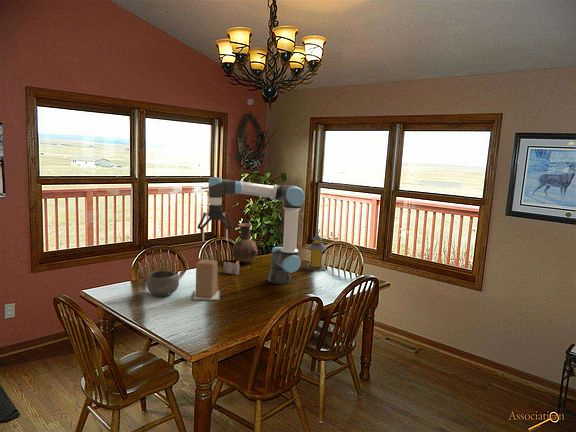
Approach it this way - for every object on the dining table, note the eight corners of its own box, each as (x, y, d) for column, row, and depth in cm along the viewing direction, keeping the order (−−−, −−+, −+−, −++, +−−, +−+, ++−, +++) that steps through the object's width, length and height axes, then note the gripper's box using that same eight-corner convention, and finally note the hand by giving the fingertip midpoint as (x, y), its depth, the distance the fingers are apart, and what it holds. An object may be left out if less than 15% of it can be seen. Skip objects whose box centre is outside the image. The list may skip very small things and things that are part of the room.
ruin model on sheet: (239, 274, 295) (239, 261, 293) (237, 275, 292) (237, 261, 290) (225, 272, 299) (225, 258, 298) (223, 273, 296) (223, 259, 295)
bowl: (184, 292, 251) (184, 271, 249) (166, 301, 234) (166, 279, 232) (159, 288, 256) (159, 268, 255) (139, 297, 239) (139, 275, 238)
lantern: (307, 265, 327) (309, 227, 322) (325, 266, 325) (327, 228, 320) (305, 269, 313) (307, 230, 308) (324, 271, 311) (327, 231, 307)
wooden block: (211, 298, 240) (212, 264, 237) (195, 296, 242) (195, 262, 239) (217, 293, 250) (218, 260, 247) (201, 291, 252) (202, 258, 249)
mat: (220, 291, 255) (220, 290, 255) (220, 300, 239) (220, 299, 239) (193, 291, 253) (193, 290, 252) (191, 300, 237) (191, 299, 237)
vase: (223, 262, 324) (224, 223, 319) (239, 257, 341) (240, 221, 337) (250, 267, 312) (251, 227, 307) (265, 262, 329) (266, 224, 325)
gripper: (236, 203, 249) (236, 238, 252) (193, 203, 245) (193, 239, 248) (237, 205, 242) (236, 241, 245) (192, 205, 238) (193, 241, 241)
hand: (215, 240), depth 247 cm, fingers open, 13 cm apart
